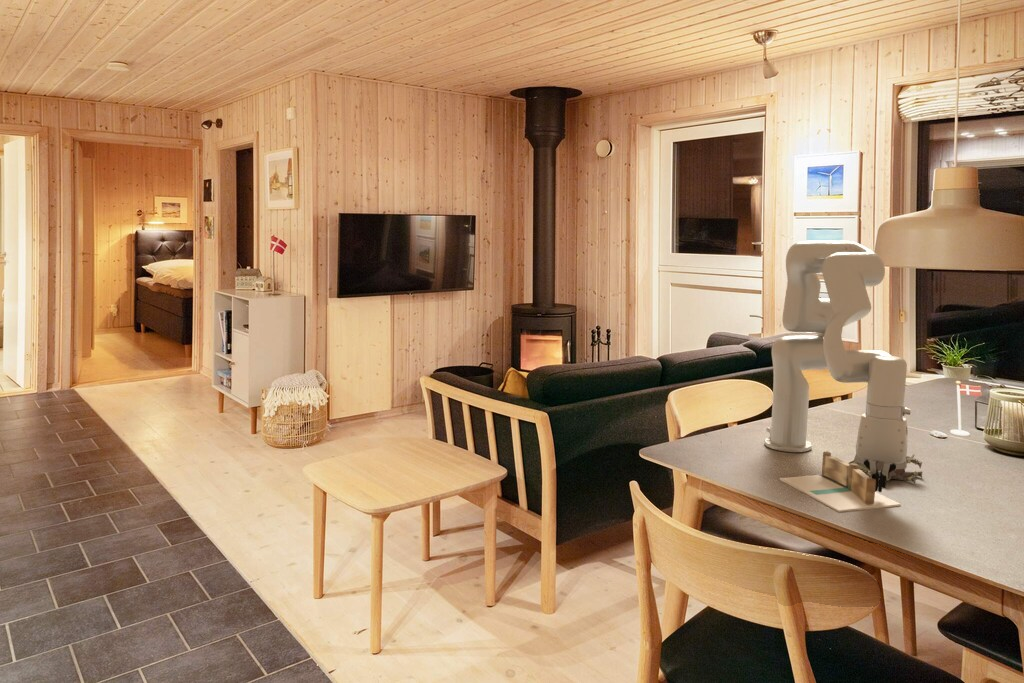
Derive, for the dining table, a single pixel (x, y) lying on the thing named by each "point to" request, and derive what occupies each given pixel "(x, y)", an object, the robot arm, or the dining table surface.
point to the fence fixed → (837, 469)
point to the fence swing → (863, 486)
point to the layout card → (835, 493)
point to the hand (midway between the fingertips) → (877, 489)
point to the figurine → (896, 470)
